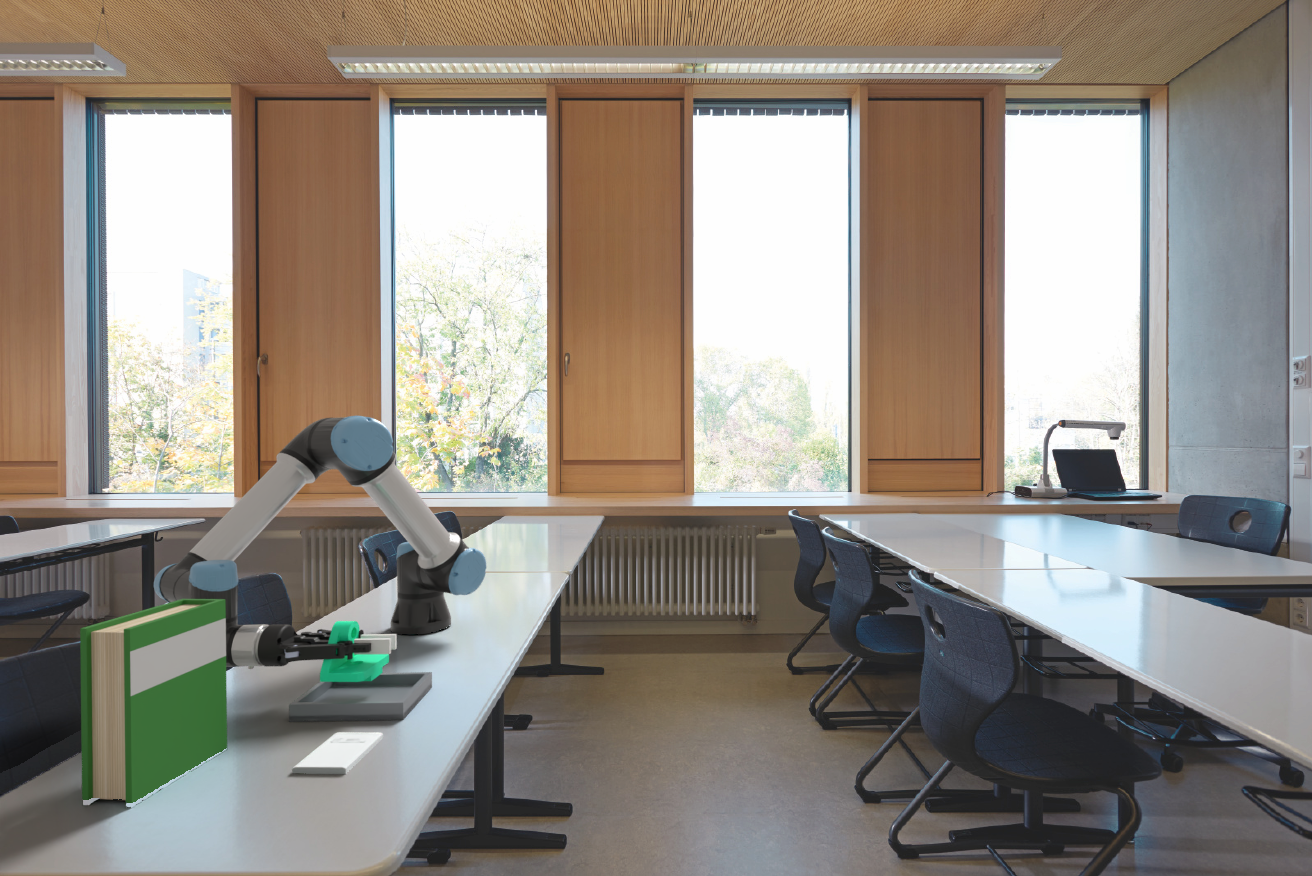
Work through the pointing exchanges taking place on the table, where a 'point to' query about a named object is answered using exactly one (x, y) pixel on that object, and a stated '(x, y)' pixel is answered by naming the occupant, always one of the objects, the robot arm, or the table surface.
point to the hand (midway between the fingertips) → (392, 643)
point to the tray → (362, 698)
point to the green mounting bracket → (353, 669)
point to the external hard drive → (338, 753)
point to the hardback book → (152, 697)
